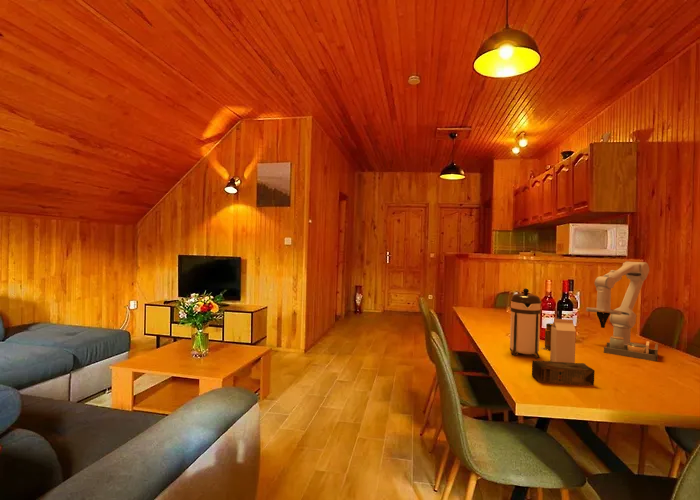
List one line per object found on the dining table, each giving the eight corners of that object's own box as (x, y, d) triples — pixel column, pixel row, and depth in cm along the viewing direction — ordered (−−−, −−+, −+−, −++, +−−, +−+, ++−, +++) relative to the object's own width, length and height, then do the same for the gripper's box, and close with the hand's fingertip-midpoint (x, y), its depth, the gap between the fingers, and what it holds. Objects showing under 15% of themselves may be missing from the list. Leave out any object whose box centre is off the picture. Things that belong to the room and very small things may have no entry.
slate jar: (609, 349, 183) (610, 335, 182) (623, 351, 179) (624, 337, 179) (609, 351, 178) (609, 337, 178) (623, 354, 175) (624, 339, 175)
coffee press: (552, 357, 167) (554, 289, 166) (524, 360, 161) (526, 290, 160) (521, 347, 183) (522, 285, 182) (495, 349, 177) (497, 286, 176)
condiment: (547, 346, 185) (548, 322, 185) (566, 350, 179) (566, 325, 179) (540, 348, 181) (541, 324, 181) (559, 352, 174) (560, 327, 174)
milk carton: (574, 368, 152) (576, 321, 152) (555, 366, 154) (557, 320, 153) (568, 362, 159) (569, 318, 159) (550, 361, 160) (551, 317, 160)
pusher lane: (606, 347, 187) (607, 337, 187) (657, 355, 174) (657, 344, 174) (603, 352, 177) (604, 341, 177) (657, 361, 164) (657, 350, 164)
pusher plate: (646, 353, 176) (646, 341, 176) (648, 353, 175) (649, 341, 175) (645, 358, 168) (645, 345, 168) (648, 358, 167) (648, 345, 167)
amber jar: (627, 352, 179) (628, 341, 179) (645, 354, 175) (646, 344, 175) (626, 355, 174) (627, 344, 174) (645, 358, 169) (645, 347, 169)
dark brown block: (595, 386, 132) (596, 368, 132) (539, 384, 134) (539, 365, 134) (583, 378, 140) (583, 361, 140) (530, 376, 142) (530, 358, 142)
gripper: (585, 299, 189) (584, 326, 190) (620, 303, 180) (619, 331, 180) (587, 298, 195) (586, 324, 195) (622, 301, 186) (621, 328, 186)
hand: (602, 327), depth 188 cm, fingers closed
